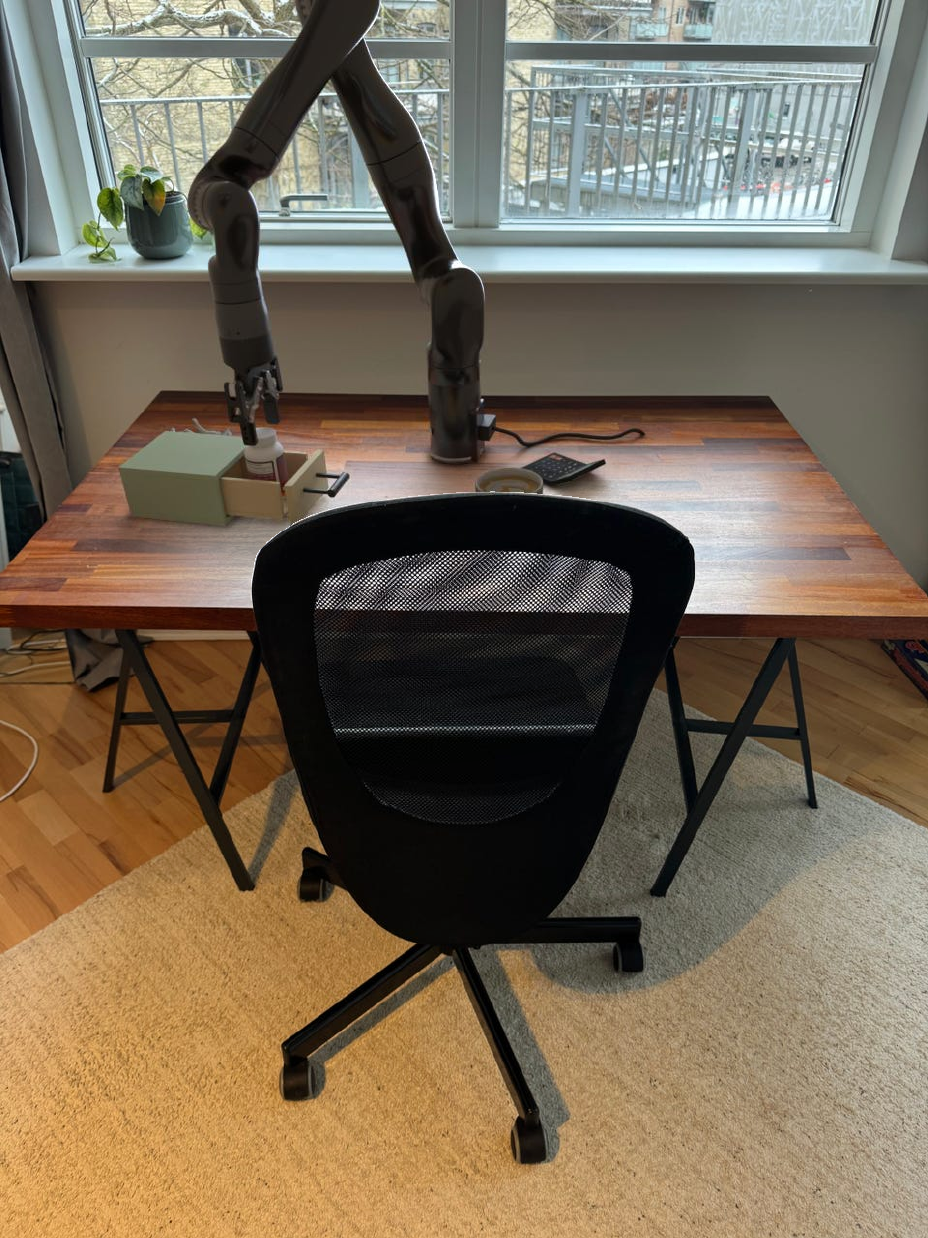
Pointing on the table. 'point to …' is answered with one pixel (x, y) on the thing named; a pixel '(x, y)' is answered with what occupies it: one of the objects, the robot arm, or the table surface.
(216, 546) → the table surface
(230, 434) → the soldier figure
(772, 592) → the table surface
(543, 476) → the calculator
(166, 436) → the cabinet
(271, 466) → the pill bottle
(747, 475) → the table surface
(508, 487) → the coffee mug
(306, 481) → the drawer
